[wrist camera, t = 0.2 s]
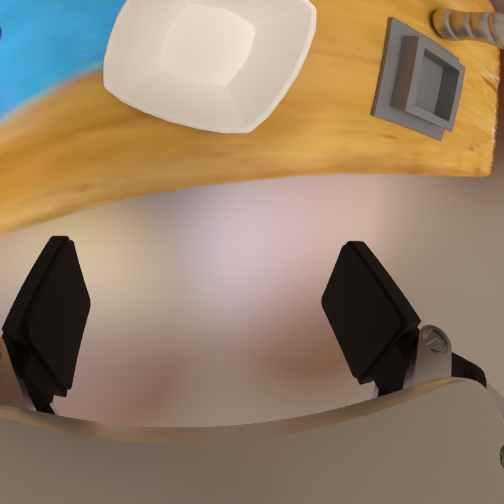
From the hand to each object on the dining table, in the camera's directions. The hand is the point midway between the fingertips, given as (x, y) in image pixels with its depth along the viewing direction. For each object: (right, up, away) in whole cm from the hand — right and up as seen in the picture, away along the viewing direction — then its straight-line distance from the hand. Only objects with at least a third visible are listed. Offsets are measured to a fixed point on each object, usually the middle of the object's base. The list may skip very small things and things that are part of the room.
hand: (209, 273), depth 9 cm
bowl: (-4, +27, +18) cm, 33 cm away
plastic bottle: (+34, +41, +17) cm, 56 cm away
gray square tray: (+29, +29, +24) cm, 48 cm away
